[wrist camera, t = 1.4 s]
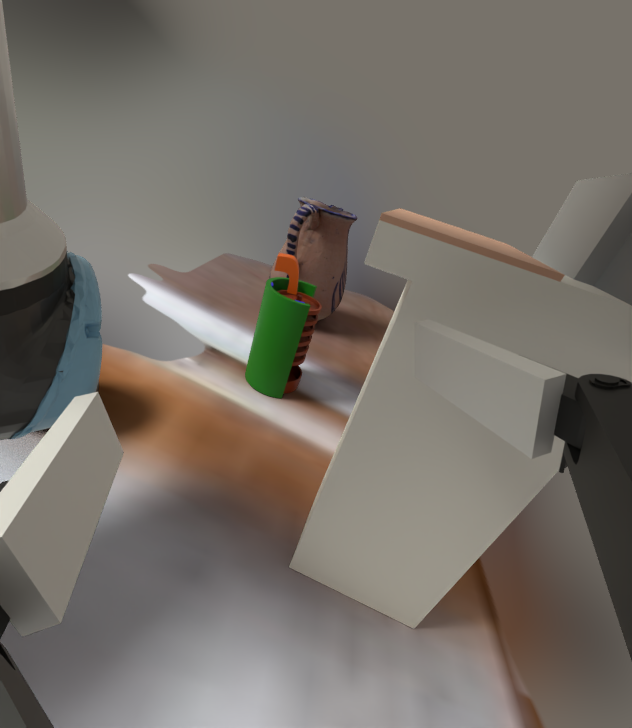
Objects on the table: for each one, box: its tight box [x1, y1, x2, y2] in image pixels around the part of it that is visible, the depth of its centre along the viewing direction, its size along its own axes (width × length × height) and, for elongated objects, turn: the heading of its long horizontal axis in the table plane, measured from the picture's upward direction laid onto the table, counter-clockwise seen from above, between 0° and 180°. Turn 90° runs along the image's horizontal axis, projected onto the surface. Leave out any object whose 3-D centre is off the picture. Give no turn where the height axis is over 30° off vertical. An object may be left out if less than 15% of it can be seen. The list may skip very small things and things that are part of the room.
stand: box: [289, 208, 632, 629], centre depth 27 cm, size 17×12×30 cm
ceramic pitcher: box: [269, 197, 357, 321], centre depth 75 cm, size 18×21×25 cm
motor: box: [245, 253, 322, 398], centre depth 51 cm, size 10×9×20 cm
